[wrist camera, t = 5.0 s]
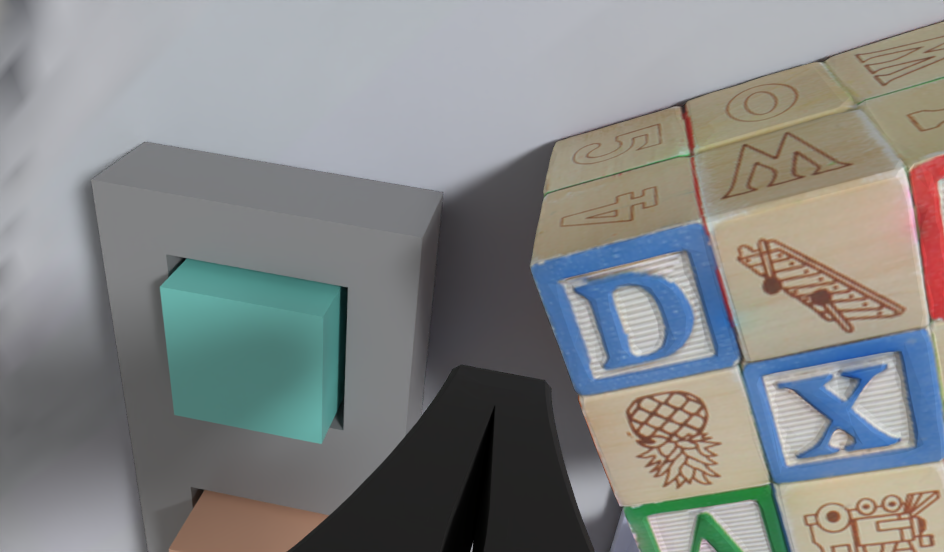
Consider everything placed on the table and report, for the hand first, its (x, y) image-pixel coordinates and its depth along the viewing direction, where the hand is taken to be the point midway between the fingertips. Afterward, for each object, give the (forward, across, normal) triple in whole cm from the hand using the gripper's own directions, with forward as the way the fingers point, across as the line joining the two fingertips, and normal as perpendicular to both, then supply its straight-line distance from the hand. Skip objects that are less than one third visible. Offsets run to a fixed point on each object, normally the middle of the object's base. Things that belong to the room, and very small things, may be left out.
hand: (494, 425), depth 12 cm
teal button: (+9, +6, +5) cm, 13 cm away
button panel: (+9, +6, +13) cm, 17 cm away
